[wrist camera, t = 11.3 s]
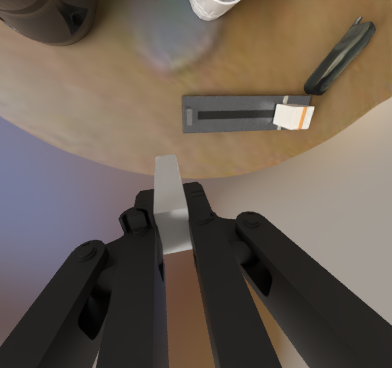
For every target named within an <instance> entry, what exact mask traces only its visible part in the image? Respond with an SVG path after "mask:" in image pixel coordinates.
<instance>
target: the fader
mask: <svg viewBox="0 0 392 368" xmlns="http://www.w3.org/2000/svg"><path fill="white" fill-rule="evenodd" d="M313 111H314V107H312V106H306V105H299V104H277V106H276V111H275V116H274V120H273V124H276V125H278V126H281V127H284V128H287V129H308V127H309V124H310V121H311V117H312V114H313Z"/></svg>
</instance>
